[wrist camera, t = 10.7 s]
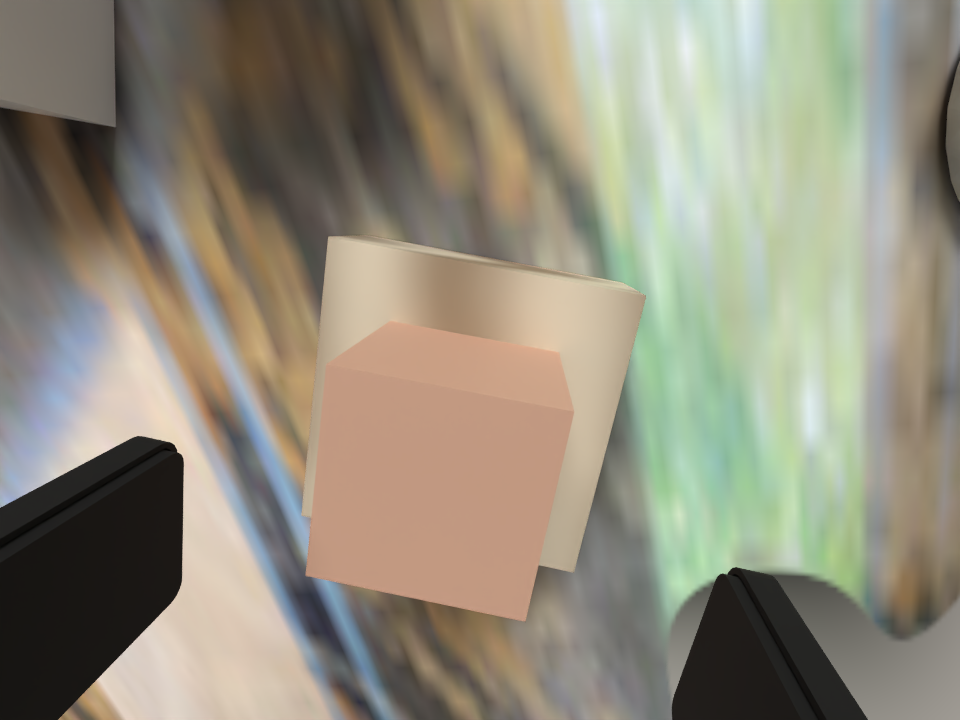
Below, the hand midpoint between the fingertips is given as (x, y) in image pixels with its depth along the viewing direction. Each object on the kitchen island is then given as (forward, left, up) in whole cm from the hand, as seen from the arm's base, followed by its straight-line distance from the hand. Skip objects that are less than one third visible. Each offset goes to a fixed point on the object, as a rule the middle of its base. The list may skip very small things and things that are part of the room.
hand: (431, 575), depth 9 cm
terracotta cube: (+1, 0, -9) cm, 9 cm away
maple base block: (+1, 0, -13) cm, 13 cm away
